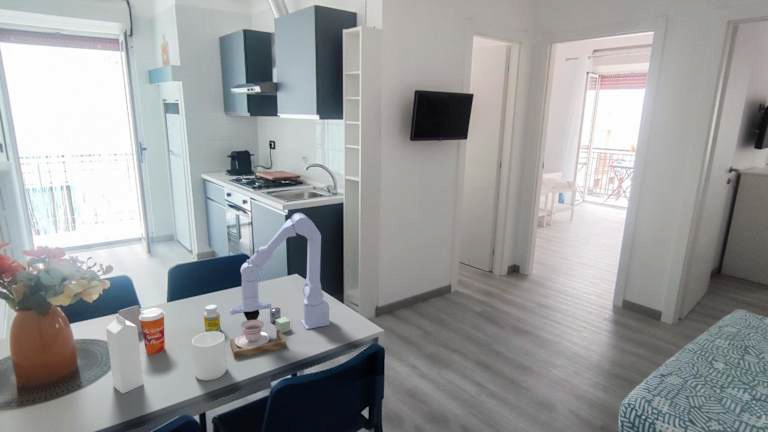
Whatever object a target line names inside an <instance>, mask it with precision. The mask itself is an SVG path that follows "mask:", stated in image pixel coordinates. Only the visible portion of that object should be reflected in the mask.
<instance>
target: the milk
mask: <svg viewBox="0 0 768 432" xmlns="http://www.w3.org/2000/svg"><path fill="white" fill-rule="evenodd" d="M105 330H106V339H107V347H108V353H109V354H108V356H109V361H110V371H111V379H112V385H113V387H114V388H115V390H117V391H119V392H120V393H121V394H122V395H123V394H125V393H127V392H131V391H132V390H134V389H137V388H139V387H141V386H143V385H144V378H143V366H142V360H141V348H140V341H139V340H140V339H139V333H138V329H137V326H136V325H134V324H132V323H131V322H129V321H127V320H125V319H123V318H122V317H120V316H119V315H118V314H117V313H116V314H115V319H114V320H113V321H112V322H111V323H110V324H108V325H107V326H106V327H105Z"/></svg>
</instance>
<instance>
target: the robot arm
mask: <svg viewBox="0 0 768 432" xmlns="http://www.w3.org/2000/svg"><path fill="white" fill-rule="evenodd" d="M297 234H298V235H301V236H303V237H305V238H306V239H307V257H306V258H307V259H306V278H305V284H304V286H303V288H302V293H303V295H304V296H305V297H304V300H303V319H301V320H300V321H301V323H302V325H303V326H304V328H305V329H306V330H310V329H314V328H321V327H325V326H330V324H331V323H330V307H329V302H328V300H326V299H324V293H323V292H322V291H323V290H322V284H321V258H322V257H321V253H322V250H321V249H322V246H321V245H322V235H321V232H320V231H319V229H318V228H317V227H316V225H315V223H314V222H313V221H312V220H311V219H310V217H308V216H307V215H305V214H304V213H302V212H296V213H294V214H292V215H291V217H290V218H289V219H287V220H286V221H285V223H284V224H283V225H282V226H281V227H280V228H279V230H278V231H277V232H276V233H275V235H274V236H273V237H272V238H271V239H270V240H269V242H268V243H267V244H266V245H265V246H263V245H262V246H260V247H259V248H255V250H254V252H255V253H254V254H253V255H252V256H251V257H250V258H249V259H248V258H247V259H246V261H245V262H243V264H242V265H241V267H240V270H239V271H240V275H241V297H242V300H241V301H242V304H241V305H238V306H235V307H231V308H229V314H230V316H233V315H237V314H241V313H243V315H244V317H245V319H246V321H248V320H258V318H259V316H260V310H265V309H266V310H267V309H269V310H270V309H271V308H272V303H271V301H265V302H264V301H263V302H259V301H260V298H259V296H260V295H259V282H258V277H259V273H260V271H262V269H264V268H265V266H267V265H268V264H269V262H270V261H271V260H272V259H273V257H274V254H273V253H274V252H275V251H276V250H277V249H278V247H280V246H281V244H283V242H285V241H286V240H287V238H290V237H296V236H297Z"/></svg>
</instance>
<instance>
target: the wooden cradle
mask: <svg viewBox="0 0 768 432" xmlns="http://www.w3.org/2000/svg"><path fill="white" fill-rule="evenodd" d="M275 331H276V334H275V335H276V336H275V337H276V338H277V341H273V342H272V341H270V342H267V343H266V344H261V345H257V346H252V347H247V348H237V345H236V344H235V339H234V338H230V339H229V343H230V344H229V345H230V349H231V353H232V356H233V359H238V358H239V359H240V358H244V357H248V356H252V355H256V354H257V355H258V354H262V353H267V352H270V351H271V352H272V351H276V350H280V349H284V348H286V347H287V341H286V339H285V337H284V335H283V333H281V331H280V330H276V329H275Z"/></svg>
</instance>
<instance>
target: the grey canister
mask: <svg viewBox="0 0 768 432" xmlns="http://www.w3.org/2000/svg"><path fill="white" fill-rule="evenodd" d="M269 316H270V317H269V319H270V320H269V321H270V323H271V324H275V325H276V322H275V320H276V319H279V318H282V317H281V316H282V315H281V307H271V309H269Z"/></svg>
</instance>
